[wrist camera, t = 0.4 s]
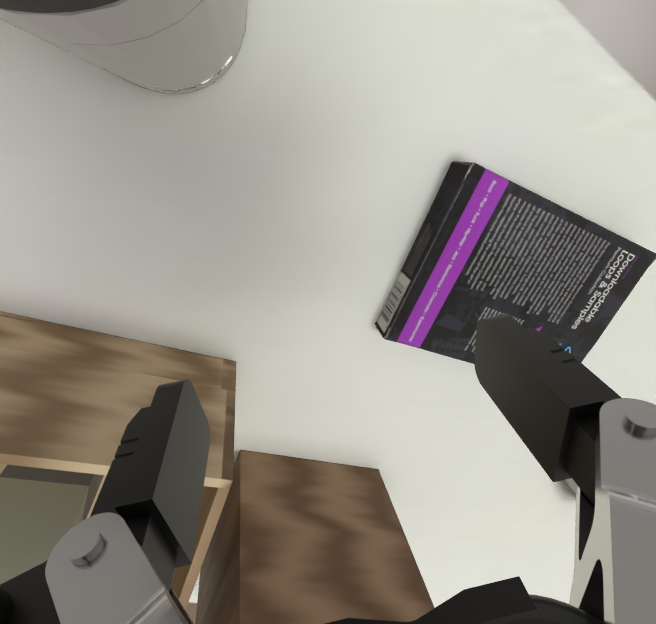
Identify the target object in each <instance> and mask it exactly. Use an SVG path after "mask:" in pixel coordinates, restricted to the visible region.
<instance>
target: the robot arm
mask: <svg viewBox="0 0 656 624" xmlns="http://www.w3.org/2000/svg"><path fill="white" fill-rule="evenodd" d="M247 2H248V0H0V19H1V20H3V21H5V22H7V23H9V24H11V25H14V26H16V27H18V28H20V29H22V30H24V31H26V32H28V33H30V34H32V35H34V36H37V37H39V38H41V39H43V40H45V41H47V42H49V43H51V44H53V45H55V46H57V47H59V48H62V49H64V50H66V51H68V52H70V53H72V54H74V55H76V56H78V57H80V58H82V59H84V60H87V61H89V62H91V63H93V64H95V65H97V66H99V67H101V68H103V69H105V70H107V71H109V72H112V73H114V74H116V75H118V76H120V77H122V78H124V79H126V80H128V81H130V82H132V83H134V84H136V85H139V86H142V87H144V88H147V89H150V90H153V91H156V92H162V93H170V94H179V93H189V92H193V91H196V90H199V89H202V88H204V87H207V86H208V85H210V84H211V83H213V82H214V81H216V80H217V79H219V78H220V77H221V76H222V75H223V74H224V72H225V71H226V70H227V69H228V68H229V67H230V66H231V64H232V63H233V61H234V59H235V57H236V55H237V54H238V52H239V50H240V47H241V44H242V40H243V37H244V34H245V28H246V18H247ZM475 370H476V374H477V377H478V380H479V382H480V384H481V385H482V387H483V388H484V389H485V391H486V392H487V393H488V395H489V396H490V397H491V399H492V400H493V401H494V403H495V404H496V406H497V407H498V408H499V410H500V411H501V412H502V414H503V415H504V416H505V418H506V419H507V420H508V422H509V423H510V424H511V426H512V427H513V428H514V430H515V431H516V433H517V434H518V435H519V437H520V438H521V439H522V441H523V442H524V443H525V445H526V446H527V447H528V449H529V450H530V451H531V453H532V454H533V456H534V457H535V458H536V460H537V461H538V462H539V464H540V465H541V466H542V468H543V469H544V470H545V472H546V473H547V474H548V476H549V477H550V479H551V480H552V481H553V482H556V481H561V480H565V479H569V478H572V479H573V480H574V482H575V483H576V484H577V485H578V490H577V495H576V526H575V558H574V575H573V582H572V588H571V594H570V603H569V604H567V603H564V602H561V601H558V600H555V599H552V598H547V597H542V596H537V595H529V594H528V592H527V590H526V589H525V587H524V585H523V583H522V581H521V579H520V577H514V578H510V579H506V580H502V581H498V582H494V583H490V584H486V585H481V586H477V587H473V588H469V589H465V590H463V591H461V592H460V593H458V594H457V595H455V596H453V597H452V598H450V599H449V600H447V601H445V602H444V603H442V604H441V605H439V606H437V607H436V608H434V609H433V610H431V611H429V612H428V613H426V614H425V615H423V616H421V617H420V618H418V619H416V620H414V621H410V622H400V621H386V620H372V619H358V618H345V619H341V620H337V621H333V622H329V623H325V624H656V405H654V404H652V403H649V402H646V401H642V400H637V399H629V398H621V397H620V396H619V395H618V394H617V393H615V392H614V391H613V390H612V389H611V388H610V387H608V386H607V385H606V384H605V383H604V382H603V381H601V380H600V379H599V378H598V377H597V376H596V375H594V374H593V373H592V372H591V371H590V370H589V369H587V368H586V367H585V366H584V365H583V364H582V363H580V362H579V361H576V360H575V357H573V356H572V355H571V354H570V353H569V352H568V351H564V348H563V347H562V346H561V345H559V344H558V343H557V342H556V341H555V340H554V339H553V338H551V337H550V336H548V335H546V334H544V333H542V332H540V331H537V330H535V329H533V328H531V327H530V328H526V329H525V328H524V327H523V326H522V325H521V324H519V323H518V322H517V321H516V320H515V319H514V318H513V317H512V316H510V315H509V314H503V315H498V316H494V317H489V318H484V319H480V320H479V321H478V323H477V329H476V348H475ZM120 442H121V445H119V446H118V449H117V451H116V453H115V459H114V460H113V461H112V463H111V466H110V468H109V471H108V473H107V476H106V478H105V481H104V483H103V485H102V488H101V490H100V493H99V495H98V498H97V500H96V503H95V505H94V508H93V510H92V512H91V515H90V517H89V518H87V519H85V520H83V521H81V522H80V523H78V524H77V525H75V526H74V527H73V528H72V529H70V530H69V531H68V532H67V533H66V534H65V535H64V536H63V537H62V538H61V539H60V541H59V542H58V543H57V544H56V546H55V547H54V549H53V550H52V552H51V554H50V556H49V558H48V560H47V561H45V562H43V563H42V564H40V565H38V566H36V567H34V568H32V569H30V570H28V571H26V572H24V573H22V574H20V575H18V576H16V577H14V578H12V579H10V580H8V581H6V582H4V583H2V584H0V624H193V622H192V620H191V619H190V617H189V615H188V614H187V612H186V610H185V609H184V607H183V606H182V604H181V602H180V601H179V599H178V597H177V596H176V594H175V592H174V591H173V589H172V588H171V583H172V578H173V572H174V568H177V567H181V566H185V565H190V564H192V560H193V553H194V546H195V540H196V533H197V527H198V520H199V513H200V507H201V500H202V493H203V487H204V480H205V473H206V467H207V460H208V454H209V447H210V428H209V424H208V420H207V418H206V415H205V413H204V411H203V408H202V406H201V403H200V401H199V399H198V396H197V394H196V392H195V389H194V387H193V385H192V383H191V381H190V380H188V379H186V380H181V381H176V382H171V383H167V384H162V385H159V386H158V387H157V389H156V392H155V394H154V397H153V400H152V403H151V406H150V407H145V408H141V409H140V410H139V411H138V413H137V414H136V415H135V416H134V417H133V418H132V420H131V421H130V422H129V423H128V424H127V426H126V429H125V431H124V434H123V436H122V439H121V441H120Z"/></svg>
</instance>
